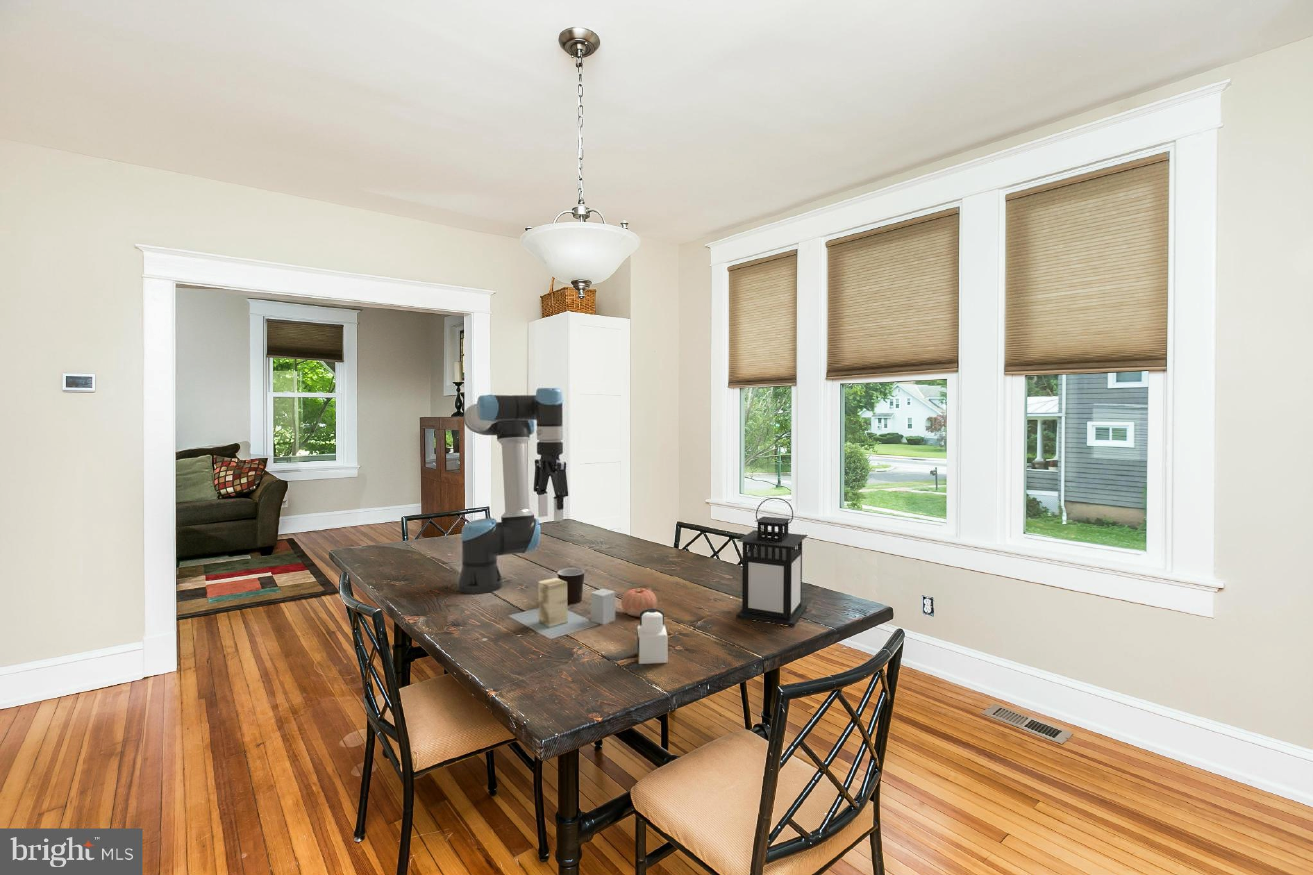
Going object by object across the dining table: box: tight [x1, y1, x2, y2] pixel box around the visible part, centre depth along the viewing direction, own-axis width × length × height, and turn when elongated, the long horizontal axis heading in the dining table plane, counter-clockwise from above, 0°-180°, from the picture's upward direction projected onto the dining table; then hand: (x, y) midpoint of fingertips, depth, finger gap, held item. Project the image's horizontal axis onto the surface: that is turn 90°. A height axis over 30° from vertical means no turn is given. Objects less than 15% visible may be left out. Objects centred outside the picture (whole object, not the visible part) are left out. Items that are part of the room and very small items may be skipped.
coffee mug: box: [557, 567, 586, 605], centre depth 197 cm, size 12×9×10 cm
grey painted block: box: [590, 588, 616, 625], centre depth 178 cm, size 5×5×9 cm
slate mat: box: [508, 607, 600, 640], centre depth 178 cm, size 24×16×1 cm, turn 41°
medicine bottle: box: [636, 608, 669, 665], centre depth 153 cm, size 7×7×12 cm
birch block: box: [537, 577, 569, 628], centre depth 176 cm, size 6×6×12 cm
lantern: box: [735, 497, 809, 627], centre depth 184 cm, size 17×17×35 cm
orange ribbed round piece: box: [620, 587, 658, 618], centre depth 184 cm, size 11×11×8 cm
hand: (550, 518), depth 179 cm, fingers open, 8 cm apart
